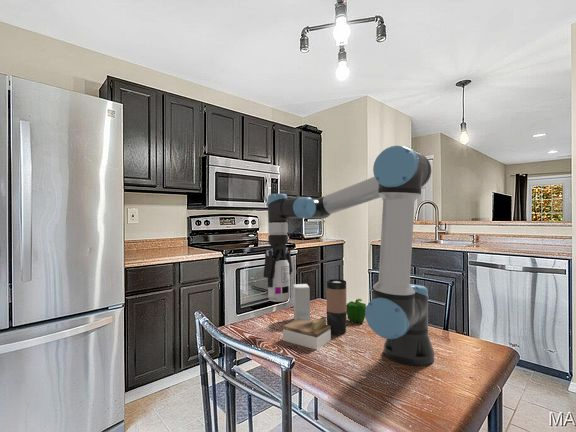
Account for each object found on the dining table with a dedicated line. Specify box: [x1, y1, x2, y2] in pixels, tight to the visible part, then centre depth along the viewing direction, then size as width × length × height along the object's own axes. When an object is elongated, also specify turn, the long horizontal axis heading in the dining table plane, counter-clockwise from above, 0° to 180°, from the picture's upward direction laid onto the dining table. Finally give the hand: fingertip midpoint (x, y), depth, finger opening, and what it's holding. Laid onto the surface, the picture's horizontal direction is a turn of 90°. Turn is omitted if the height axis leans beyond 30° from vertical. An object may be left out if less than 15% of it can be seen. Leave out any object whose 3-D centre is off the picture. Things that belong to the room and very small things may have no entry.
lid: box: [282, 316, 331, 336], centre depth 112 cm, size 14×10×4 cm
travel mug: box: [326, 278, 347, 336], centre depth 121 cm, size 8×8×20 cm
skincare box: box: [292, 283, 311, 321], centre depth 134 cm, size 8×7×16 cm
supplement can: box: [267, 260, 291, 303], centre depth 120 cm, size 8×8×15 cm
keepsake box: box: [282, 328, 332, 350], centre depth 112 cm, size 14×10×4 cm
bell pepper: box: [346, 298, 367, 323], centre depth 134 cm, size 8×8×10 cm
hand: (278, 293), depth 119 cm, fingers closed on supplement can, 8 cm apart
